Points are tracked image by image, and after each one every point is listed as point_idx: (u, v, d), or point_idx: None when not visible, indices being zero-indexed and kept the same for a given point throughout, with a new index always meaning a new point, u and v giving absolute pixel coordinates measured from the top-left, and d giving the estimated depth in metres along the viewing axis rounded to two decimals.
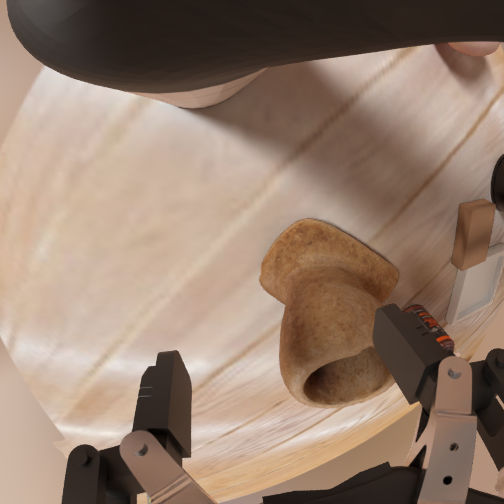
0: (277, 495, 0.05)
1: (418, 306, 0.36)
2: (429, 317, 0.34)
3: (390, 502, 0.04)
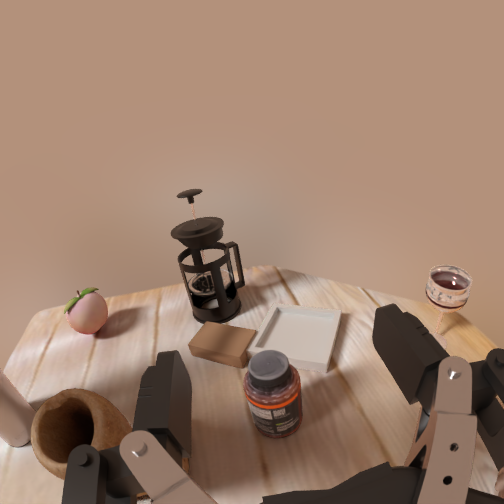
0: (277, 494, 0.05)
1: None
2: None
3: (390, 502, 0.04)
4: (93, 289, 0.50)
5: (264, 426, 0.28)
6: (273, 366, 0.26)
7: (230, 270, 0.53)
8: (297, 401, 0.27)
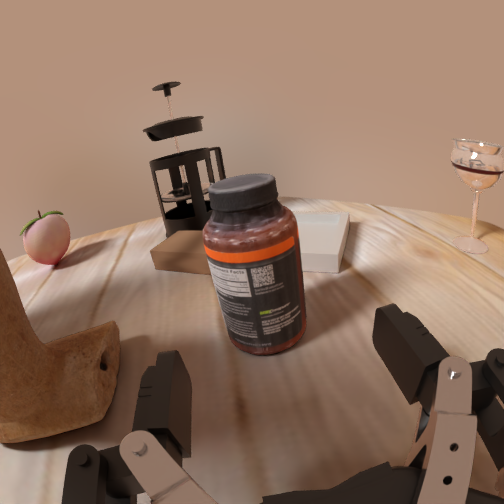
0: (277, 495, 0.05)
1: None
2: None
3: (390, 502, 0.04)
4: (56, 211, 0.41)
5: (240, 323, 0.18)
6: (248, 180, 0.16)
7: (211, 180, 0.43)
8: (295, 262, 0.17)
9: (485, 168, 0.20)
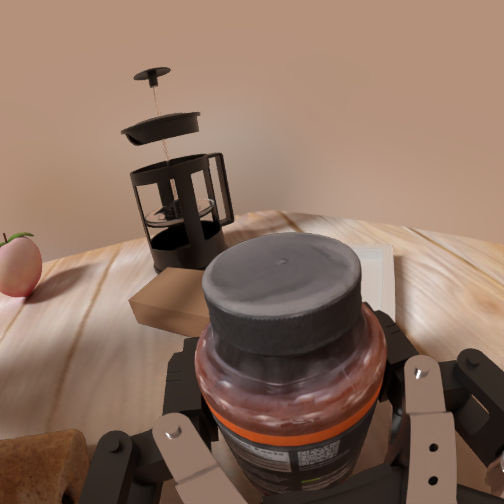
0: (277, 495, 0.05)
1: None
2: None
3: None
4: (25, 233, 0.31)
5: (266, 483, 0.08)
6: (302, 268, 0.07)
7: (211, 195, 0.34)
8: (373, 411, 0.08)
9: None
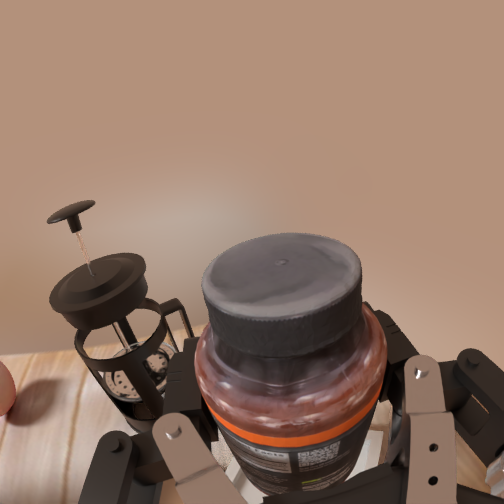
0: (277, 495, 0.05)
1: None
2: None
3: None
4: None
5: (266, 484, 0.08)
6: (302, 269, 0.07)
7: None
8: (373, 411, 0.08)
9: None
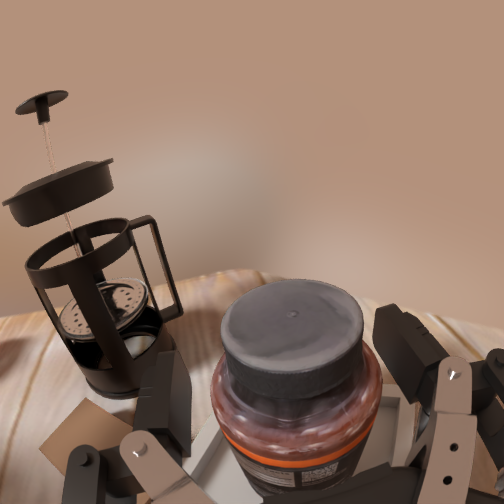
0: (277, 494, 0.05)
1: None
2: None
3: (390, 502, 0.04)
4: None
5: None
6: (311, 322, 0.07)
7: None
8: (368, 435, 0.08)
9: None
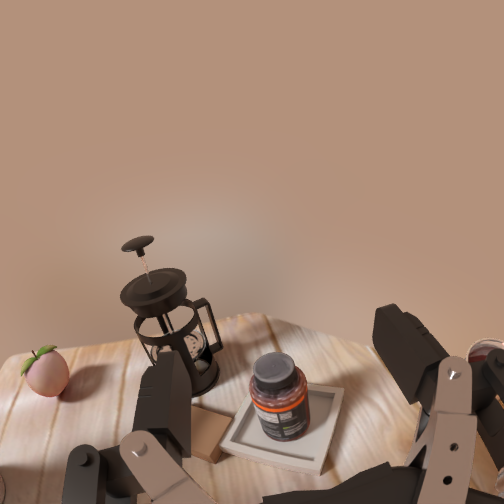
0: (277, 495, 0.05)
1: None
2: None
3: (390, 502, 0.04)
4: (50, 348, 0.38)
5: (271, 430, 0.27)
6: (278, 368, 0.25)
7: (203, 333, 0.40)
8: (304, 404, 0.26)
9: None
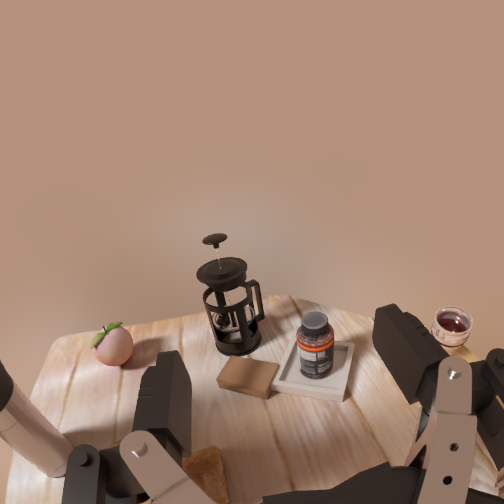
0: (277, 495, 0.05)
1: None
2: None
3: (390, 502, 0.04)
4: (118, 324, 0.53)
5: (309, 368, 0.43)
6: (318, 320, 0.41)
7: (251, 306, 0.56)
8: (332, 347, 0.42)
9: (451, 345, 0.33)
